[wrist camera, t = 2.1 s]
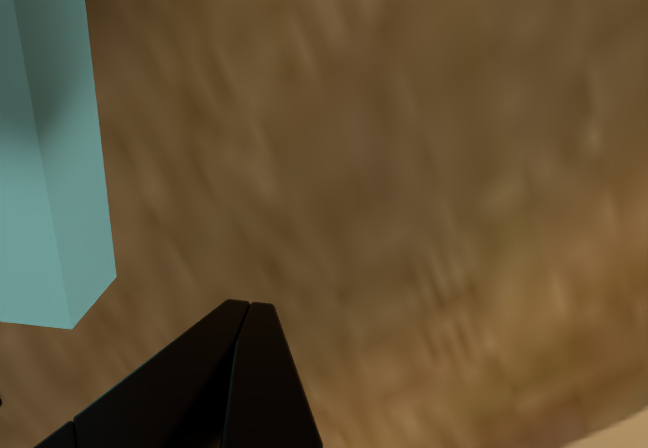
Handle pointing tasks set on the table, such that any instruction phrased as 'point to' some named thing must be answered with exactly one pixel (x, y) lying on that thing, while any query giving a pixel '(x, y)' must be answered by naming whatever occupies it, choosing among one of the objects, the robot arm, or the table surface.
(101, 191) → the hinged leg
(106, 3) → the table surface
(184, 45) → the table surface
